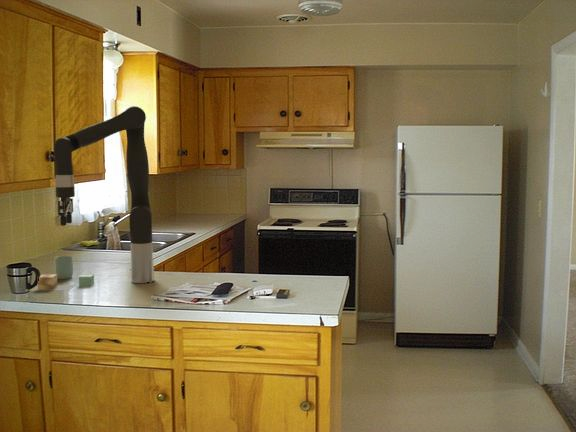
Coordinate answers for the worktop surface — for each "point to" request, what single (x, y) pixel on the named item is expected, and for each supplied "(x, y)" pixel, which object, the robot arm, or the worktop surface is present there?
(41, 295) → the worktop surface
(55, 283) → the oak block
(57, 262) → the cup
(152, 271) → the robot arm
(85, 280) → the teal block
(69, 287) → the pale flat slab
